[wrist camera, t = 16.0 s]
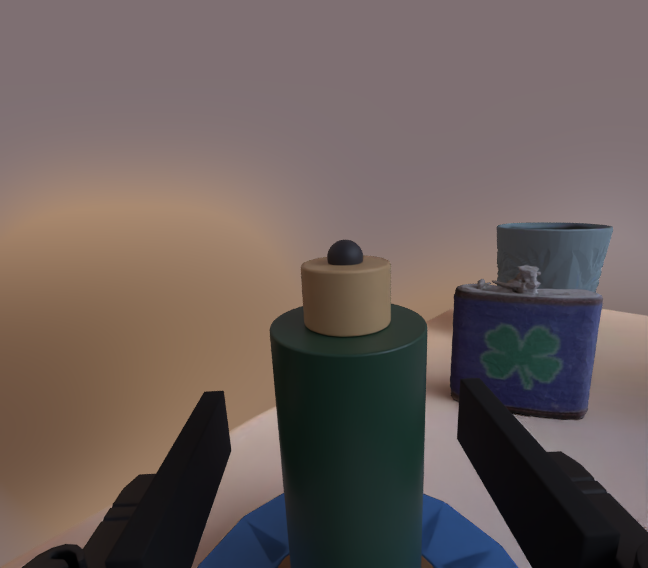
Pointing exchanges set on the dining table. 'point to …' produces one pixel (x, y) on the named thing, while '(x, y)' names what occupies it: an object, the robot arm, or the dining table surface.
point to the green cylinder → (351, 416)
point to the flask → (527, 344)
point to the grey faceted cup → (554, 253)
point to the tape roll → (437, 540)
